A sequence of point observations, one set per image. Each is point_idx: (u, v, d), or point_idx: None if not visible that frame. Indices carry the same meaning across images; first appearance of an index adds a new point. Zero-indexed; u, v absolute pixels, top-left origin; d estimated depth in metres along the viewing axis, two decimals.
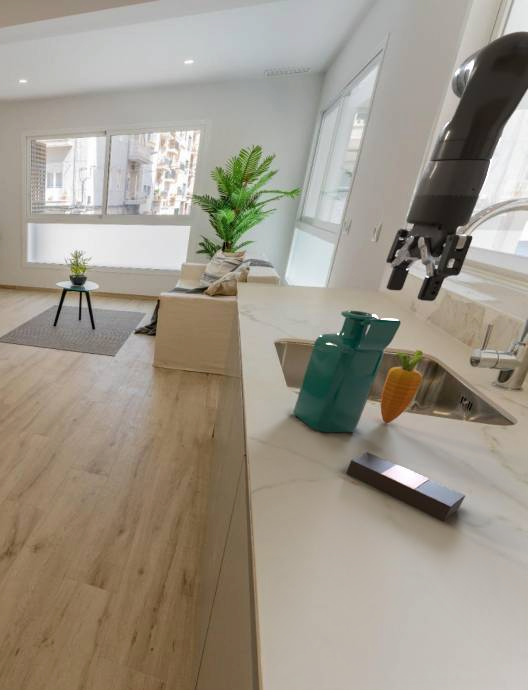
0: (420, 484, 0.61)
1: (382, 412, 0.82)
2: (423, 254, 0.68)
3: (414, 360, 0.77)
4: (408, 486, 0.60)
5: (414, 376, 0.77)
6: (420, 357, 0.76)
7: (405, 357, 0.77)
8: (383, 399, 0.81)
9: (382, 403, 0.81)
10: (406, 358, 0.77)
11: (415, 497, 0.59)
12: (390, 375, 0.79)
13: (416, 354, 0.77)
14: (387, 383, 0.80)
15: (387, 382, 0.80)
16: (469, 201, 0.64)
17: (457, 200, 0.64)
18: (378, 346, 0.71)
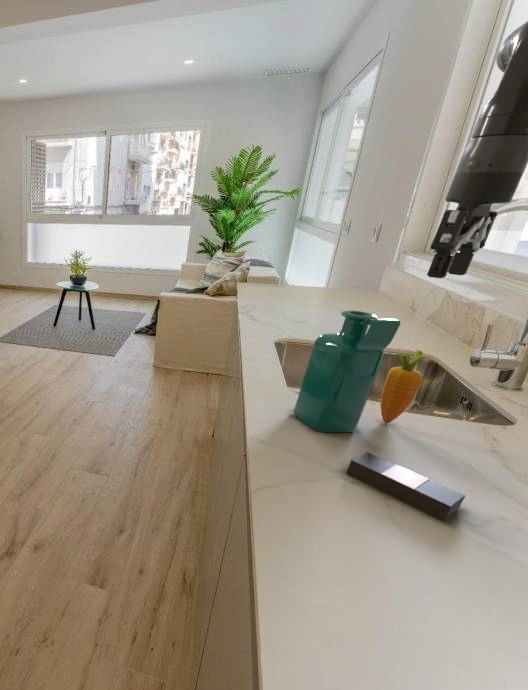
0: (420, 484, 0.61)
1: (382, 412, 0.82)
2: None
3: (414, 360, 0.77)
4: (408, 486, 0.60)
5: (414, 376, 0.77)
6: (420, 357, 0.76)
7: (405, 357, 0.77)
8: (383, 399, 0.81)
9: (382, 403, 0.81)
10: (406, 358, 0.77)
11: (415, 497, 0.59)
12: (390, 375, 0.79)
13: (416, 354, 0.77)
14: (387, 383, 0.80)
15: (387, 382, 0.80)
16: (487, 177, 0.63)
17: (471, 177, 0.65)
18: (378, 346, 0.71)
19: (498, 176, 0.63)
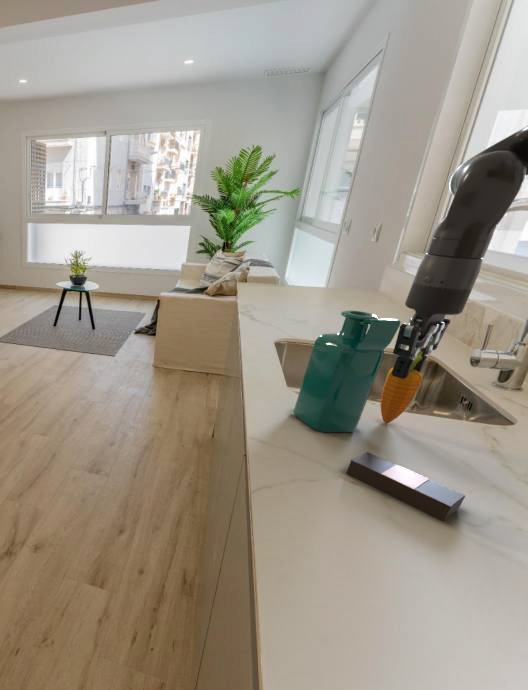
0: (420, 484, 0.61)
1: (382, 412, 0.82)
2: None
3: (414, 360, 0.77)
4: (408, 486, 0.60)
5: (414, 376, 0.77)
6: (420, 357, 0.76)
7: None
8: (383, 399, 0.81)
9: (382, 403, 0.81)
10: None
11: (415, 497, 0.59)
12: (390, 375, 0.79)
13: None
14: (387, 383, 0.80)
15: (387, 382, 0.80)
16: (439, 292, 0.70)
17: (426, 290, 0.71)
18: (378, 346, 0.71)
19: (449, 292, 0.69)
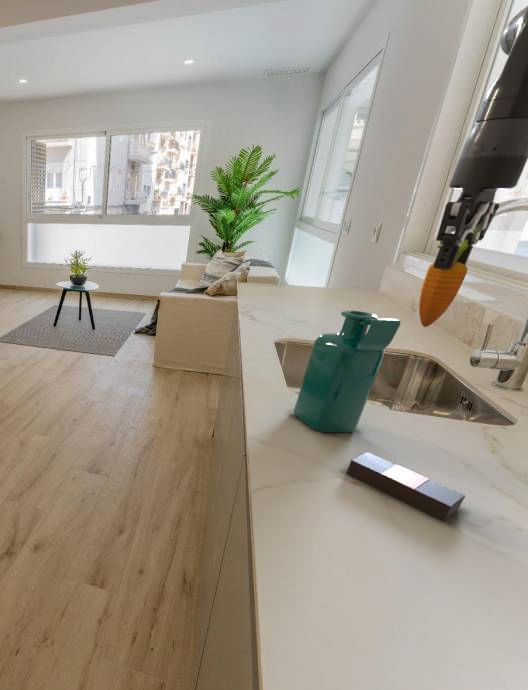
0: (420, 484, 0.61)
1: (421, 314, 0.74)
2: None
3: (459, 249, 0.69)
4: (408, 486, 0.60)
5: (459, 267, 0.69)
6: (466, 245, 0.69)
7: None
8: (422, 299, 0.74)
9: (421, 304, 0.74)
10: None
11: (415, 497, 0.59)
12: (431, 270, 0.72)
13: None
14: (427, 279, 0.72)
15: (427, 278, 0.72)
16: (491, 161, 0.63)
17: (476, 161, 0.64)
18: (378, 346, 0.71)
19: (503, 160, 0.62)
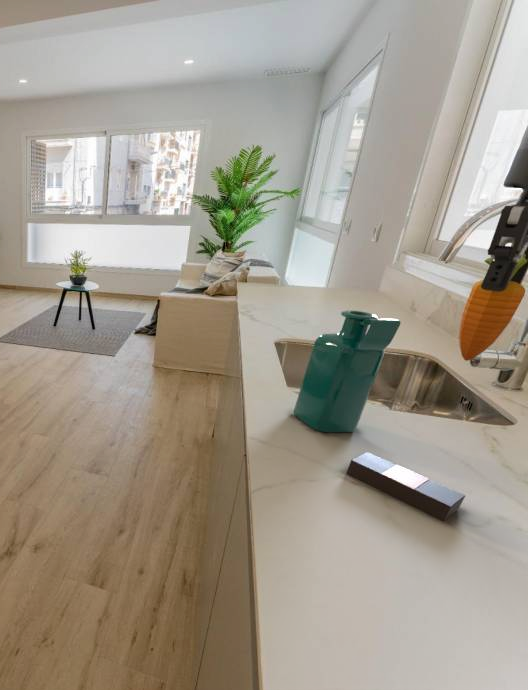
0: (420, 484, 0.61)
1: (462, 345, 0.60)
2: None
3: None
4: (408, 486, 0.60)
5: (515, 288, 0.54)
6: (524, 260, 0.54)
7: None
8: (465, 326, 0.59)
9: (463, 332, 0.59)
10: None
11: (415, 497, 0.59)
12: (477, 290, 0.57)
13: None
14: (472, 302, 0.58)
15: (472, 301, 0.58)
16: None
17: None
18: (378, 346, 0.71)
19: None
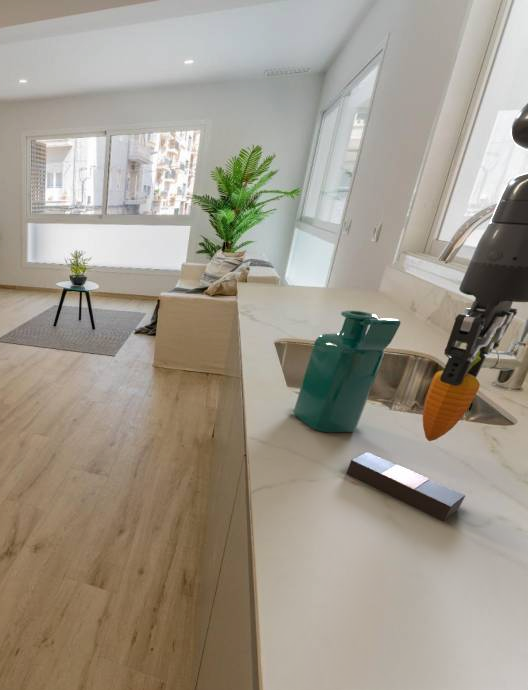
0: (420, 484, 0.61)
1: (425, 427, 0.65)
2: None
3: None
4: (408, 486, 0.60)
5: (470, 382, 0.59)
6: (478, 358, 0.59)
7: None
8: (427, 411, 0.64)
9: (425, 416, 0.64)
10: None
11: (415, 497, 0.59)
12: (437, 381, 0.62)
13: None
14: (433, 391, 0.63)
15: (433, 390, 0.63)
16: (510, 272, 0.53)
17: (492, 269, 0.54)
18: (378, 346, 0.71)
19: (524, 272, 0.52)
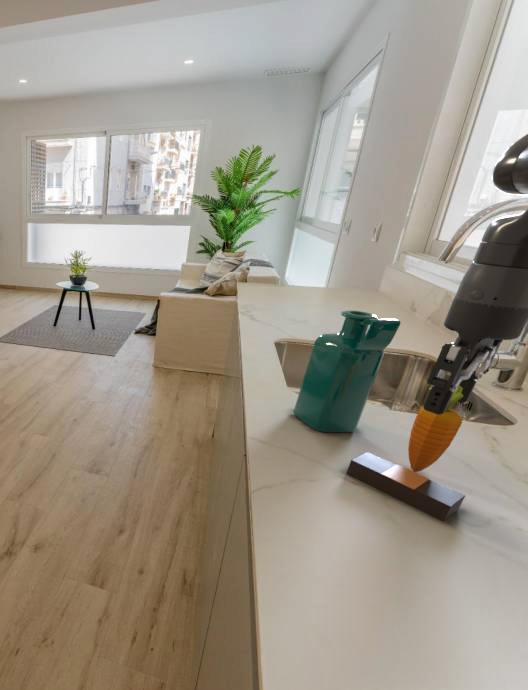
0: (420, 484, 0.61)
1: (410, 459, 0.67)
2: None
3: (452, 398, 0.62)
4: (408, 486, 0.60)
5: (453, 418, 0.62)
6: (460, 395, 0.61)
7: None
8: (412, 444, 0.66)
9: (411, 448, 0.66)
10: None
11: (415, 497, 0.59)
12: (421, 415, 0.64)
13: (454, 391, 0.63)
14: (418, 424, 0.65)
15: (417, 424, 0.65)
16: (491, 311, 0.55)
17: (474, 308, 0.56)
18: (378, 346, 0.71)
19: (505, 312, 0.54)
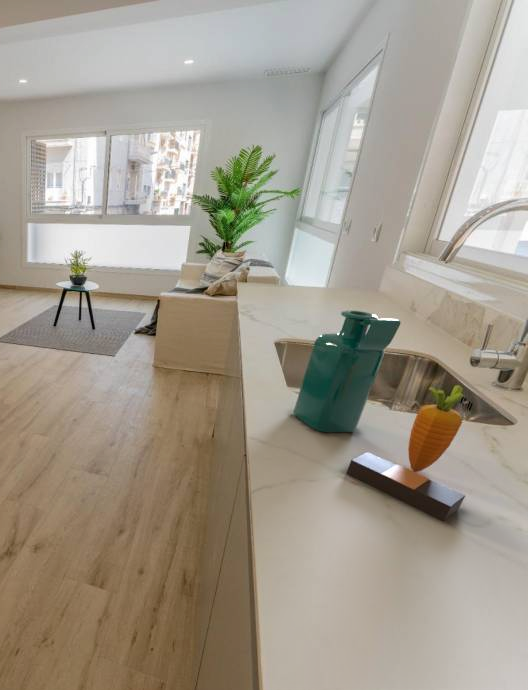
0: (420, 484, 0.61)
1: (410, 459, 0.67)
2: None
3: (452, 398, 0.62)
4: (408, 486, 0.60)
5: (453, 418, 0.62)
6: (460, 395, 0.61)
7: (441, 395, 0.62)
8: (412, 444, 0.66)
9: (411, 448, 0.66)
10: (442, 396, 0.62)
11: (415, 497, 0.59)
12: (421, 415, 0.64)
13: (454, 391, 0.63)
14: (418, 424, 0.65)
15: (417, 424, 0.65)
16: None
17: None
18: (378, 346, 0.71)
19: None
